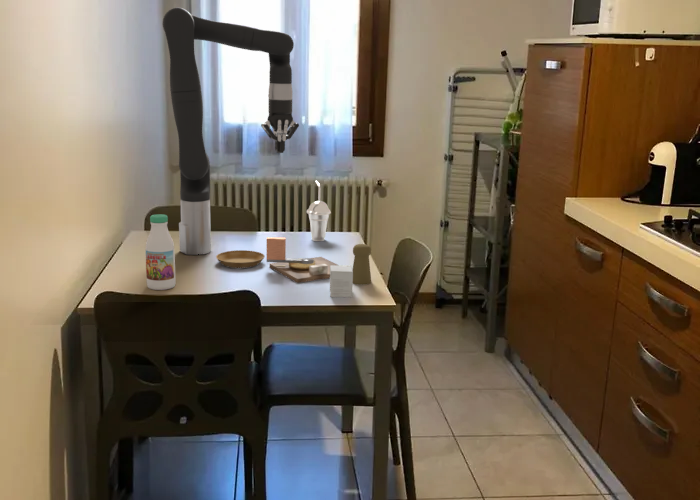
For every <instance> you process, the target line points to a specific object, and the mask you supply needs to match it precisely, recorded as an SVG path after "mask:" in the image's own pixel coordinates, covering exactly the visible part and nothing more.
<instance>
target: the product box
mask: <svg viewBox="0 0 700 500" xmlns="http://www.w3.org/2000/svg"><path fill="white" fill-rule="evenodd" d="M353 285H354V284H353V265H349V264H348V265H346V264H345V265H343V264H341V265H339V264H337V265H331V266H330V278H329V292H330V297H331V298H353Z"/></svg>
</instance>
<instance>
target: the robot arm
mask: <svg viewBox="0 0 700 500" xmlns="http://www.w3.org/2000/svg"><path fill="white" fill-rule="evenodd" d="M162 29H163V31H164V35H165V37H166V41H167V47H168V53H169V58H170V59H169V61H170V62H169V87H170V88H169V89H170V98H171V105H172V110H173V119H174V122H175V125H176V130H177V135H178V167H179V171H180V174H179V175H180V177H179V178H180V185H179V186H180V189H179V190H180V191H179V195H180V199H179V200H180V222H178V234H179V235H178V237H179V251H180V252H181V253H183V254H184V255H186V256H188V255H192V256H194V255H198V254H199V255H206V254H209V253H211V252H212V241H211V239H212V237H211V232H212V230H211V180H210V179H211V178H210V177H211V169H210V168H211V167H210V165H211V164H210V163H211V161H210V157H209V156H208V154H207V152H206V148H205V144H204V143H205V142H204V137H203V124H204V123H203V121H204V106H203V94H202V86H201V81H200V74H199V69H198V65H197V61H196V55H195V40H199V41H206V42H212V43H216V44H220V45H224V46H228V47H233V48H236V49H242V50H247V51H252V52H253V51H254V52H262V53H267V54H268V61H269V81H268V82H269V85H268V115H267V120H266V121H265V122H264V123H261V124H260V127H261V128H262V129H263V130H264V133H265V134H266V135H267V137H269V139H270V140H274V149H275V152H276V153H278V154H284V152H285V150H286V141H287V140H290V139H291V138H292V137H293V136H294V134H295V132H296V131H297V129H298V128H299V127H300V124H299V123H297V122H296V121H295V120H294V117H293V84H292V83H293V80H292V79H293V73H292V72H293V70H292V66H291V63H290V62H291V52H292V51H293V49H294V46H295V45H294V40H293V38H292V36H290V35H289V33H287V32H286V33H285V32H282V31H281V32H280V31H277V30H276V31H275V30H267V29H261V28H259V27H255V26H250V25H244V24H239V23H234V22H233V23H232V22H225V21H216V20H211V19H206V18H202V17H199V16H197V15H194V14H192V13H190V12H189V11H188V10H187V9H185V8H182V7H173V8H171V9H169V10H168V11H167V12H166V13H165V14H164V16H163V19H162ZM271 128H272V129H271Z"/></svg>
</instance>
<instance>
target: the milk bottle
mask: <svg viewBox="0 0 700 500" xmlns="http://www.w3.org/2000/svg"><path fill="white" fill-rule="evenodd" d="M168 219H169V217H168V215H167V214H164V213H163V214H161V213H160V214H159V213H158V214H157V213H156V214H152V215H150V217H149V221H150V225H151V226H150V231H149V234H148V236H147V239H146V243H145V270H146V271H145V272H146V287H147V288H148V289H150V290H153V291H155V290H156V291H163V290H170V289H173V288H175V286H176V282H177V281H176V262H175V259H176V258H175V257H176V256H175V243H174V240H173V238H172V236H171V232H170V231H169V229H168V221H169V220H168Z"/></svg>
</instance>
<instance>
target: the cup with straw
mask: <svg viewBox="0 0 700 500" xmlns="http://www.w3.org/2000/svg"><path fill="white" fill-rule="evenodd" d="M315 183H316V186H317V188H318V191H317V192H318V195H317V196H318V197H317V198H318V200H316V201H313V202H312V203H310V205H309V207H308V209H306V214H308V218H309V223H310V225H309V226H310V234H311V241H313V242H324V241H326V238H325V237H326V234H327V233H326V232H327V226H328V220H329V216H330V214H332V212H331V209H329V207H328V204H327V203H326V202H325V201H322V200H321V191H322V190H321V184H320V183H319V181H318V180H315Z"/></svg>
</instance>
